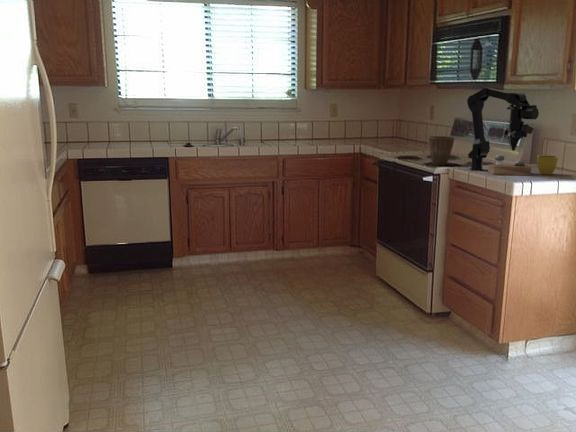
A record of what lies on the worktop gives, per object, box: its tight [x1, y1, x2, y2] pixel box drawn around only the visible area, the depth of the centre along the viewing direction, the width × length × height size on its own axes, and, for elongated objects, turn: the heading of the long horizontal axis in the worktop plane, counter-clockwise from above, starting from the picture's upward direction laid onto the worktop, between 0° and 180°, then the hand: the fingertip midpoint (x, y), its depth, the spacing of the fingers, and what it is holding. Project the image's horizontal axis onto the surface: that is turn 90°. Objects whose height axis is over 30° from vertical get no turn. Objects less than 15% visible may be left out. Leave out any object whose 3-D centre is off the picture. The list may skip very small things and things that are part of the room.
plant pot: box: [427, 135, 455, 166], centre depth 319 cm, size 15×15×16 cm
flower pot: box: [537, 154, 558, 176], centre depth 274 cm, size 9×9×9 cm
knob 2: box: [514, 160, 526, 166], centre depth 275 cm, size 4×4×6 cm
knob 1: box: [494, 154, 506, 166], centre depth 276 cm, size 4×4×6 cm
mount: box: [487, 164, 532, 176], centre depth 276 cm, size 10×18×4 cm, turn 84°
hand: (513, 150), depth 274 cm, fingers closed
